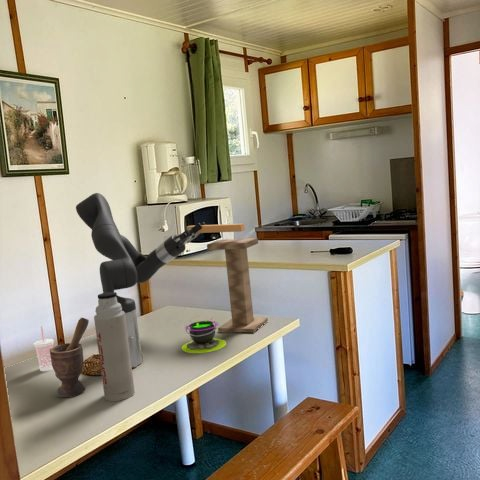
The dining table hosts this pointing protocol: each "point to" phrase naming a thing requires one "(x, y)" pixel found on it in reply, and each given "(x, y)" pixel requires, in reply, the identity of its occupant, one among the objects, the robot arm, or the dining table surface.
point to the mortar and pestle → (70, 362)
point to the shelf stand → (238, 285)
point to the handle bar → (220, 228)
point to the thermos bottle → (113, 348)
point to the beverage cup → (44, 352)
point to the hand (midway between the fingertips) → (202, 224)
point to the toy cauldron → (202, 338)
